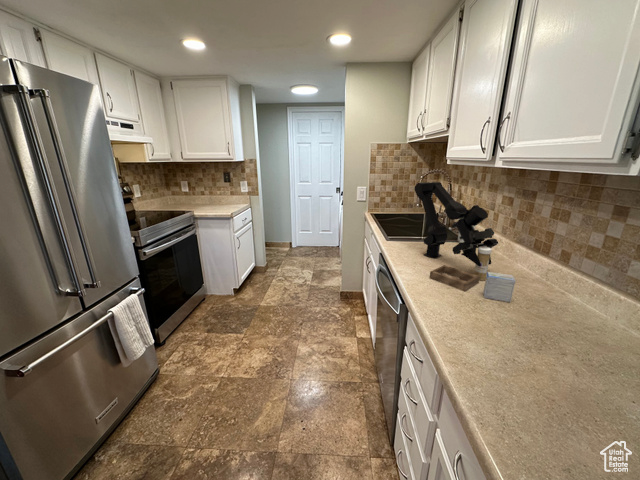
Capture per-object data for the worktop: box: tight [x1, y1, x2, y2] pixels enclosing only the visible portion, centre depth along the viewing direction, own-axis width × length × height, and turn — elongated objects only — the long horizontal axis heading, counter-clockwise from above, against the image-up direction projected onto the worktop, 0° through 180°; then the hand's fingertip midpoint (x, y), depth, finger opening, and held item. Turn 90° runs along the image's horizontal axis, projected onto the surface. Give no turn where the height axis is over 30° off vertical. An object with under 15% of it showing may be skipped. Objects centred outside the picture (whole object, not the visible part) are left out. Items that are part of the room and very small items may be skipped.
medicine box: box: [482, 271, 516, 303], centre depth 93 cm, size 8×4×9 cm, turn 65°
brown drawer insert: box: [429, 264, 480, 292], centre depth 107 cm, size 15×11×3 cm
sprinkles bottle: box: [473, 246, 493, 282], centre depth 107 cm, size 5×5×13 cm
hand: (485, 265), depth 105 cm, fingers open, 5 cm apart
